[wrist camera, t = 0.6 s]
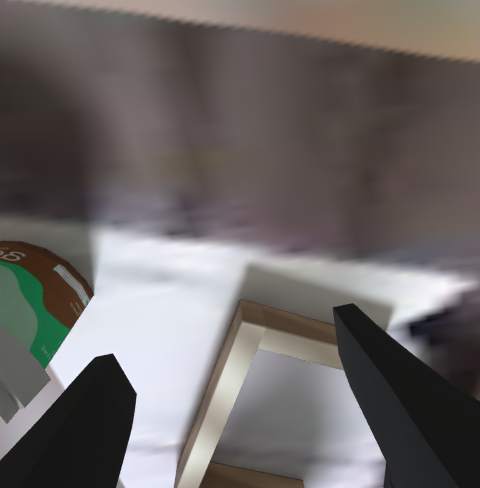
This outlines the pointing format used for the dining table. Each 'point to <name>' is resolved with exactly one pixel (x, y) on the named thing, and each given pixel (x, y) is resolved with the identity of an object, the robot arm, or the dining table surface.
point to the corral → (229, 384)
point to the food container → (33, 318)
